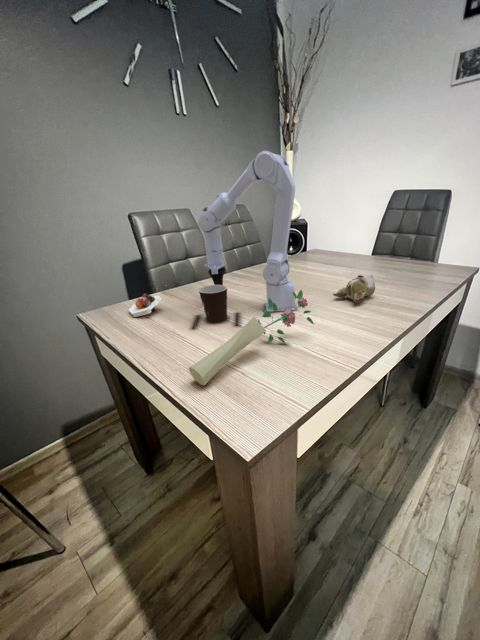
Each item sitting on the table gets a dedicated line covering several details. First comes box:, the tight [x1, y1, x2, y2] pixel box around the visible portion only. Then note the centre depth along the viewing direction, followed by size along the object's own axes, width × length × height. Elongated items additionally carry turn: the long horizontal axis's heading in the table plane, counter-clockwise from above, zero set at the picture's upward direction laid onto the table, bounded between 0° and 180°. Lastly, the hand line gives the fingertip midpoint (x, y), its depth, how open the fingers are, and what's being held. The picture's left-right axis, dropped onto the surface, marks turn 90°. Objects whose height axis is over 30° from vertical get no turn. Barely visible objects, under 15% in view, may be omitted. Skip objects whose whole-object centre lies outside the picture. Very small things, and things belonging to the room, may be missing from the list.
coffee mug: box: [198, 284, 228, 324], centre depth 87 cm, size 12×9×10 cm
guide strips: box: [191, 312, 240, 330], centre depth 87 cm, size 14×10×1 cm
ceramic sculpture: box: [332, 274, 376, 303], centre depth 96 cm, size 11×9×15 cm
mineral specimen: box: [128, 292, 163, 318], centre depth 95 cm, size 12×12×7 cm
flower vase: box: [188, 289, 315, 386], centre depth 66 cm, size 12×12×35 cm
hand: (219, 289), depth 100 cm, fingers closed
